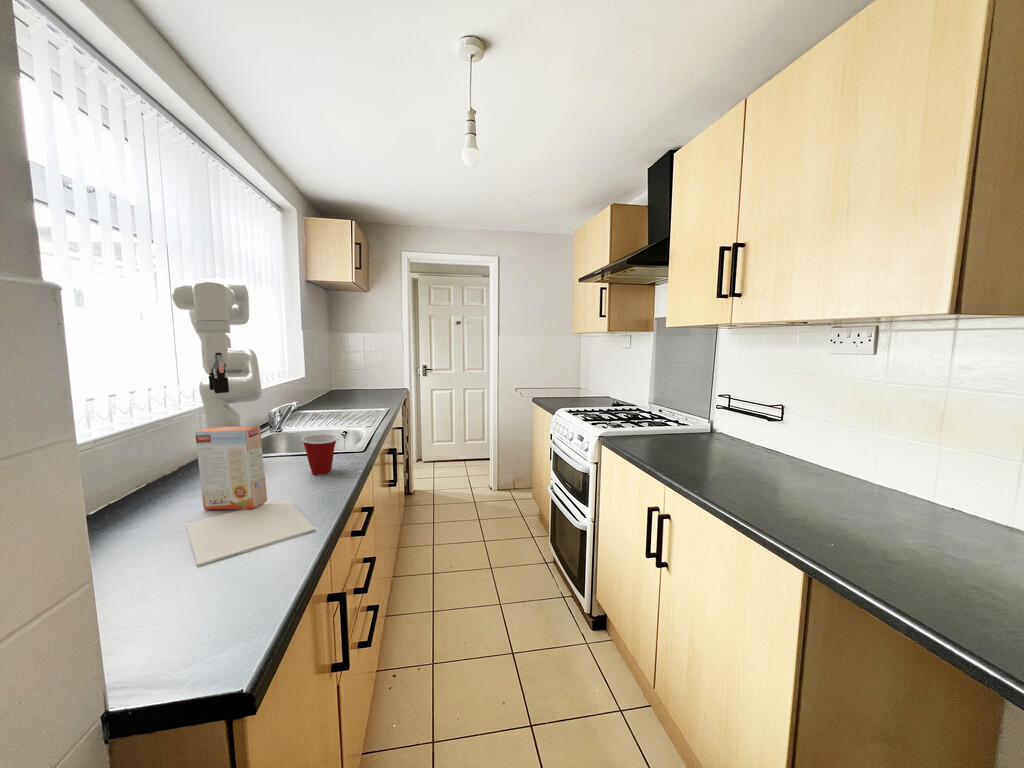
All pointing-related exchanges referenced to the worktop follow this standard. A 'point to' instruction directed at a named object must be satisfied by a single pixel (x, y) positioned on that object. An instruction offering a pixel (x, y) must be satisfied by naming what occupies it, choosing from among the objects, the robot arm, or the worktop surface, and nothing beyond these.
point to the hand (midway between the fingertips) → (219, 390)
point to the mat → (245, 530)
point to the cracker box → (231, 467)
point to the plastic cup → (320, 452)
